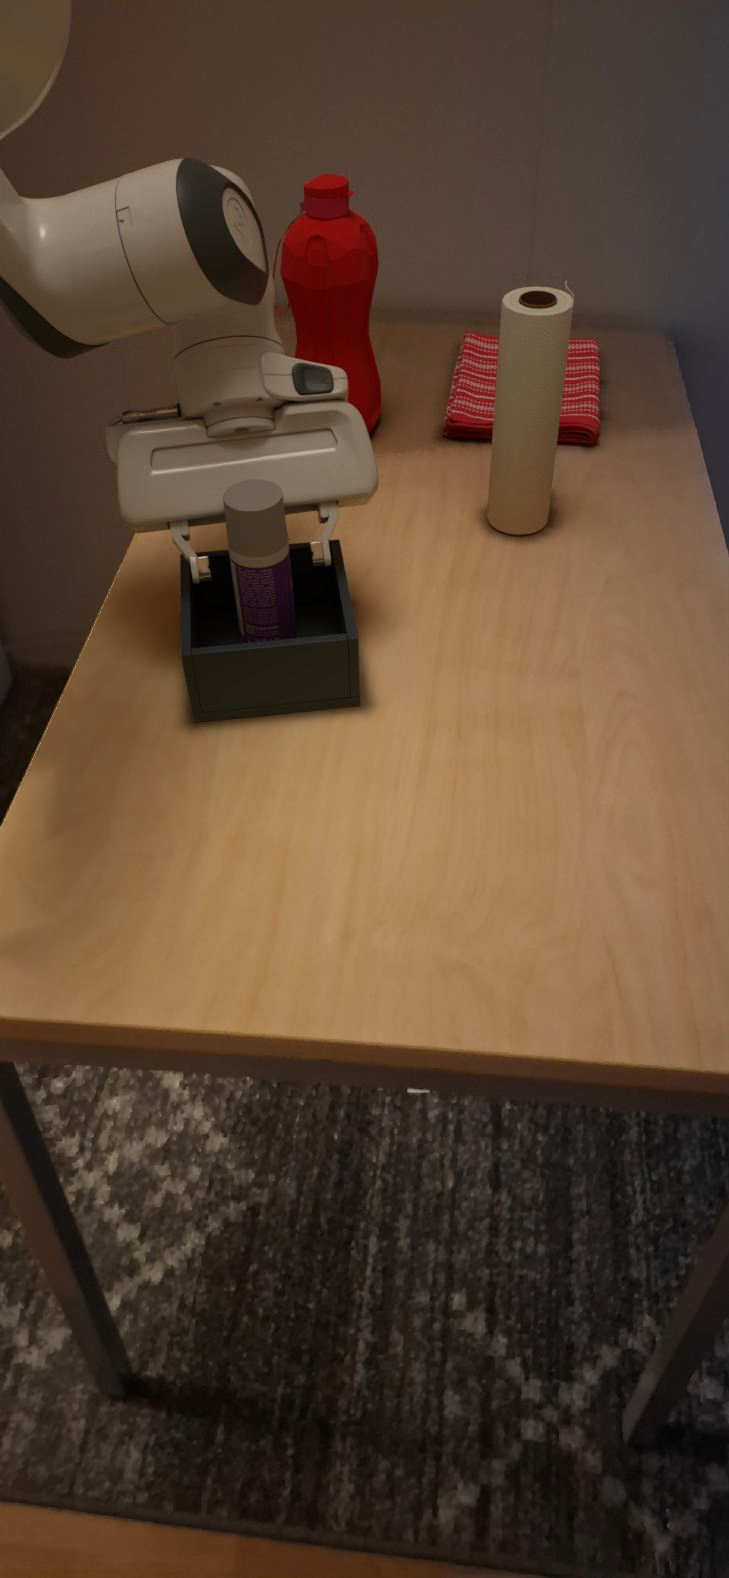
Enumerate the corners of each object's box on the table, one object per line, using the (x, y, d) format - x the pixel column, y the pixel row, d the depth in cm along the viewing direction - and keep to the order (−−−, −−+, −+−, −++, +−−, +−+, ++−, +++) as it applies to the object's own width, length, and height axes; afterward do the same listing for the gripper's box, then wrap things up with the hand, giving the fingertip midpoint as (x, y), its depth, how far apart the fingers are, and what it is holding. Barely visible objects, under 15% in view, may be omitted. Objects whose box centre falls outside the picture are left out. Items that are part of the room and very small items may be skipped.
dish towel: (440, 441, 114) (441, 418, 112) (459, 346, 130) (460, 325, 128) (599, 450, 112) (603, 426, 110) (598, 352, 128) (601, 330, 126)
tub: (193, 722, 84) (180, 655, 79) (192, 619, 93) (180, 553, 88) (360, 705, 85) (358, 638, 80) (342, 605, 94) (339, 539, 89)
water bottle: (296, 400, 121) (278, 159, 103) (387, 411, 119) (385, 165, 101) (270, 439, 115) (245, 190, 97) (365, 451, 113) (359, 197, 95)
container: (309, 650, 88) (297, 493, 78) (269, 677, 86) (250, 519, 75) (272, 627, 91) (254, 471, 80) (231, 652, 88) (208, 496, 78)
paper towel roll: (501, 542, 100) (520, 317, 85) (477, 510, 104) (490, 290, 89) (569, 527, 102) (600, 303, 86) (542, 496, 106) (567, 277, 90)
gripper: (95, 398, 77) (125, 584, 78) (366, 368, 79) (393, 549, 80) (105, 426, 83) (133, 598, 84) (356, 397, 86) (382, 564, 86)
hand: (262, 573), depth 82 cm, fingers open, 8 cm apart
